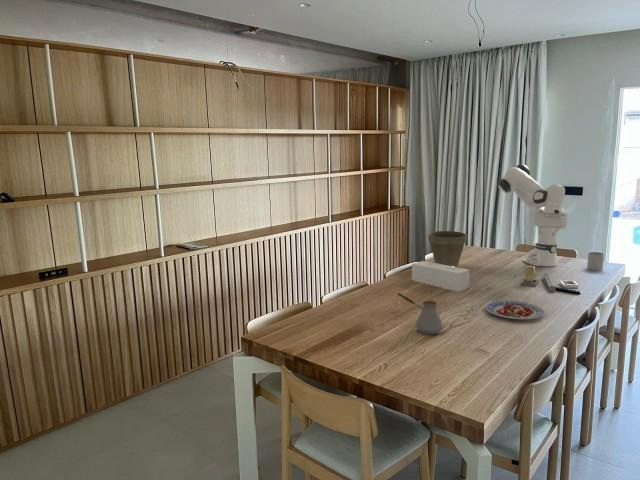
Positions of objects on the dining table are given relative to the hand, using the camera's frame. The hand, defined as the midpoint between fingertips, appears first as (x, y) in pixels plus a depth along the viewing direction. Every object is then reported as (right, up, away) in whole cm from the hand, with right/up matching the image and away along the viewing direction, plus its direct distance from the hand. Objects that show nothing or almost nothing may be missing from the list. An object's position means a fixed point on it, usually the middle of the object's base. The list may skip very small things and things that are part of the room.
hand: (546, 234), depth 272 cm
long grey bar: (-2, -29, -7) cm, 29 cm away
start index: (+8, -29, -10) cm, 31 cm away
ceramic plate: (-39, -38, -50) cm, 74 cm away
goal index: (-11, -28, -4) cm, 31 cm away
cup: (+43, -22, +25) cm, 54 cm away
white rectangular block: (-62, -29, +1) cm, 69 cm away
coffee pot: (-89, -42, -66) cm, 118 cm away
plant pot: (-46, -20, +44) cm, 67 cm away
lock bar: (-11, -28, -4) cm, 31 cm away
